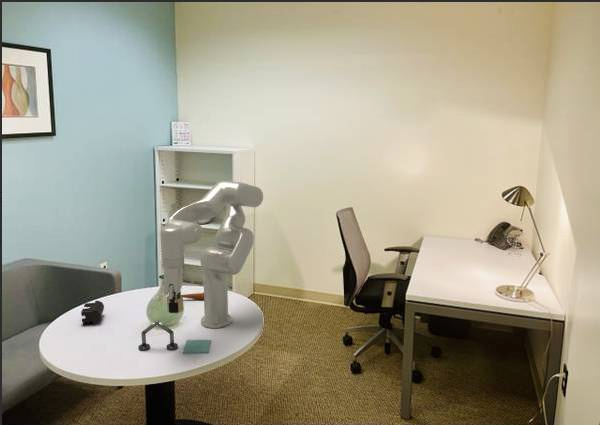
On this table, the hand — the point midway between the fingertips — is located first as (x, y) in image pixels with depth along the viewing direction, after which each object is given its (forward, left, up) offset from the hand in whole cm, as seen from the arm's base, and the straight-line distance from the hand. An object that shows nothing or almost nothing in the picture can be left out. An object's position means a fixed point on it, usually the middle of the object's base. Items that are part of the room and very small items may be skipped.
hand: (175, 308), depth 171 cm
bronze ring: (0, 0, -1) cm, 1 cm away
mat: (0, +7, -15) cm, 17 cm away
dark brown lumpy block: (-24, -38, -16) cm, 47 cm away
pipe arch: (0, -7, -15) cm, 17 cm away
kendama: (-43, -5, -16) cm, 46 cm away
